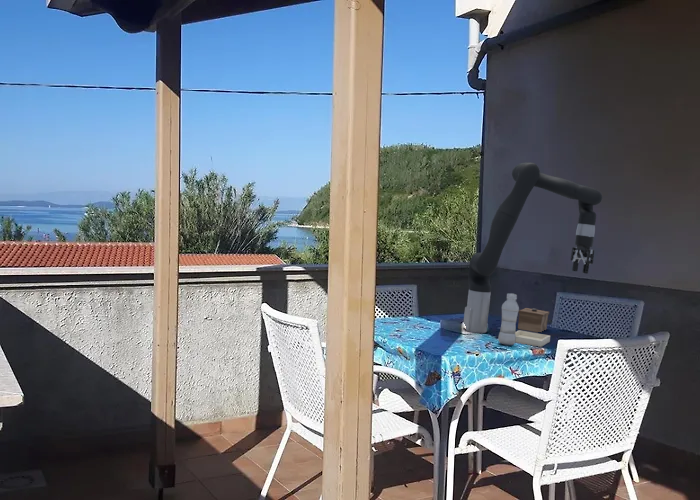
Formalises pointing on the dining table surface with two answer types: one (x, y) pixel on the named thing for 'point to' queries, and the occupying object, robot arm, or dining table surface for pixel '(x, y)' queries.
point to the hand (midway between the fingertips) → (579, 272)
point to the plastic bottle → (509, 320)
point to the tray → (531, 338)
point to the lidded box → (533, 320)
